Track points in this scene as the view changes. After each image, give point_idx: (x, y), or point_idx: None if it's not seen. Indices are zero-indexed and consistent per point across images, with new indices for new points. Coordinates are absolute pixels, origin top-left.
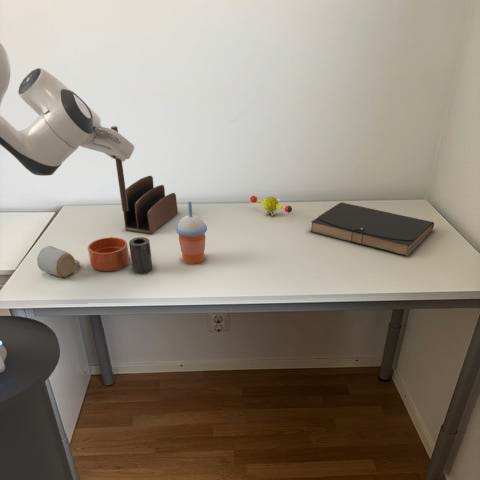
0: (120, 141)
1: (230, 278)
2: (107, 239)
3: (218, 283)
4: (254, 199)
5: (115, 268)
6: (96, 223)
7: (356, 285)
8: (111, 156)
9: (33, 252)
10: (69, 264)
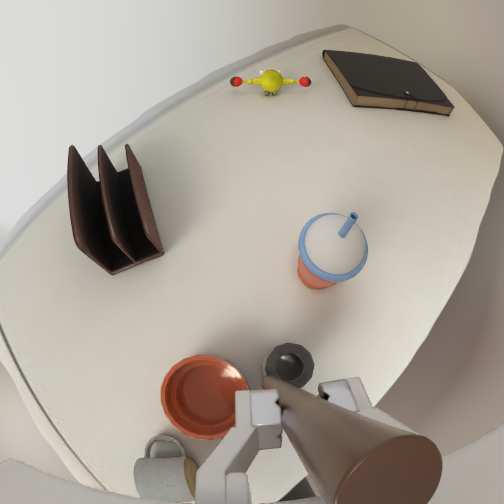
0: (498, 459)
1: (407, 273)
2: (172, 375)
3: (408, 298)
4: (240, 82)
5: None
6: (52, 290)
7: (479, 187)
8: (268, 446)
9: (70, 439)
10: (194, 473)
